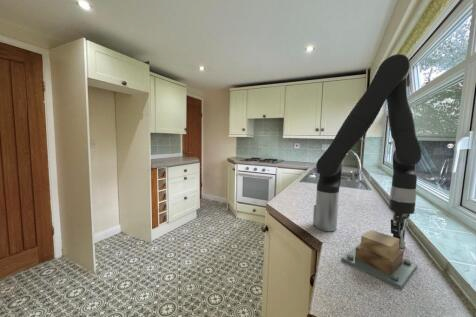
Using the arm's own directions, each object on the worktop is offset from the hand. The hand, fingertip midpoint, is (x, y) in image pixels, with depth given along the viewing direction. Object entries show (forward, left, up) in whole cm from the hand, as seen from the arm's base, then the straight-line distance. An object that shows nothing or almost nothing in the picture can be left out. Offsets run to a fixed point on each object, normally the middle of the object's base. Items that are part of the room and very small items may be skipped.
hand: (398, 242), depth 77 cm
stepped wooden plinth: (0, -20, -1) cm, 20 cm away
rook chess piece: (0, 0, -1) cm, 1 cm away
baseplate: (0, -20, -1) cm, 20 cm away
